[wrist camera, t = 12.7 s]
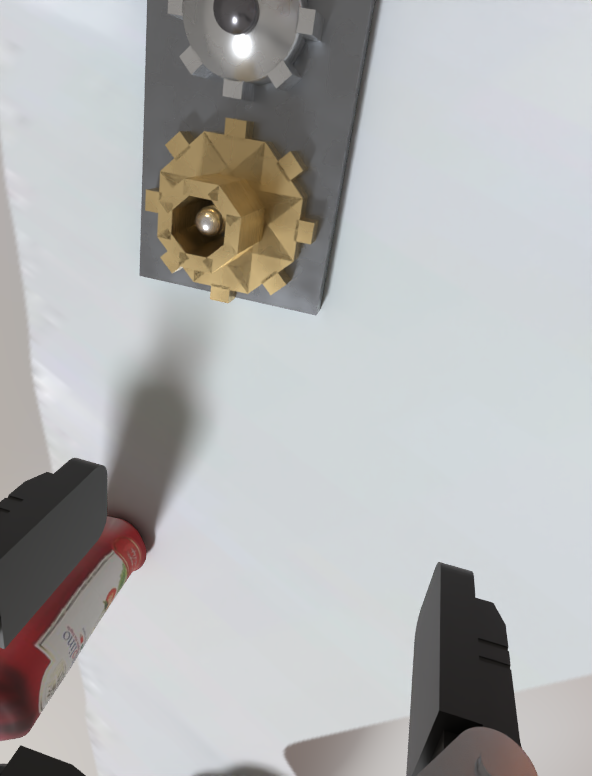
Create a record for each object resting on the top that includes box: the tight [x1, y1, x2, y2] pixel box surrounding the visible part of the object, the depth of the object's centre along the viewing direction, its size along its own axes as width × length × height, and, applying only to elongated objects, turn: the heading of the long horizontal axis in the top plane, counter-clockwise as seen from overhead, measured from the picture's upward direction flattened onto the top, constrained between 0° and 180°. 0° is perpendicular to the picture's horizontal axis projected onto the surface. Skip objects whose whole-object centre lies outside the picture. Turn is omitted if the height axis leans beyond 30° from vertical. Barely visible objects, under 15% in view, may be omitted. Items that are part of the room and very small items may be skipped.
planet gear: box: [145, 118, 319, 303], centre depth 36 cm, size 12×12×6 cm
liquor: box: [0, 516, 146, 741], centre depth 44 cm, size 7×7×28 cm
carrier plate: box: [140, 0, 375, 315], centre depth 32 cm, size 14×35×8 cm, turn 172°
